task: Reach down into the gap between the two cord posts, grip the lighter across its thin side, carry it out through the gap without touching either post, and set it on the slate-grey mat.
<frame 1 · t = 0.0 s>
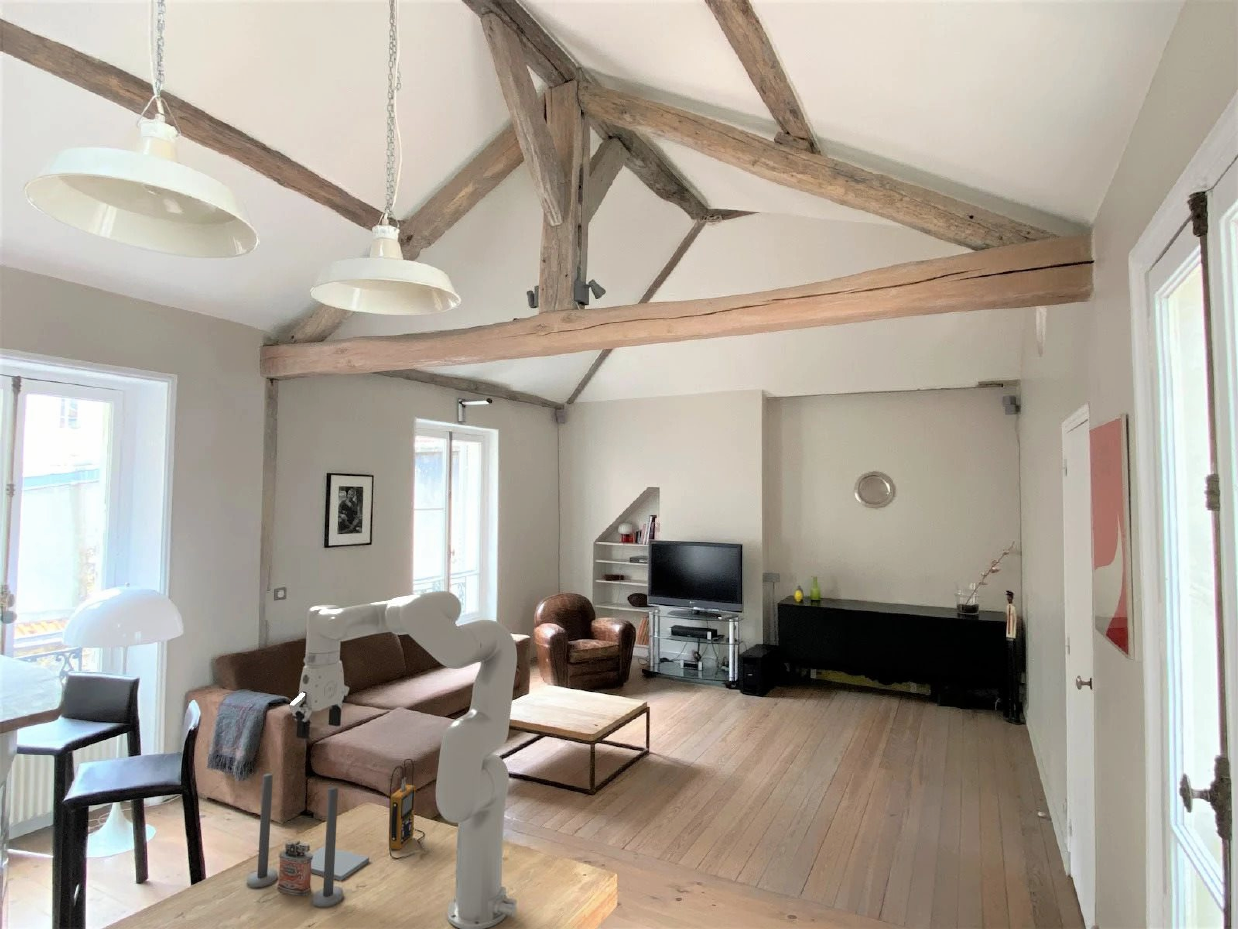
hand: (318, 731, 156), 31 cm above the table, tool pointing down, fingers open, 9 cm apart
multimeter: (414, 846, 165), on the table
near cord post: (327, 899, 142), on the table
mat: (331, 865, 155), on the table
lighter: (294, 890, 145), on the table
far cord post: (262, 880, 148), on the table
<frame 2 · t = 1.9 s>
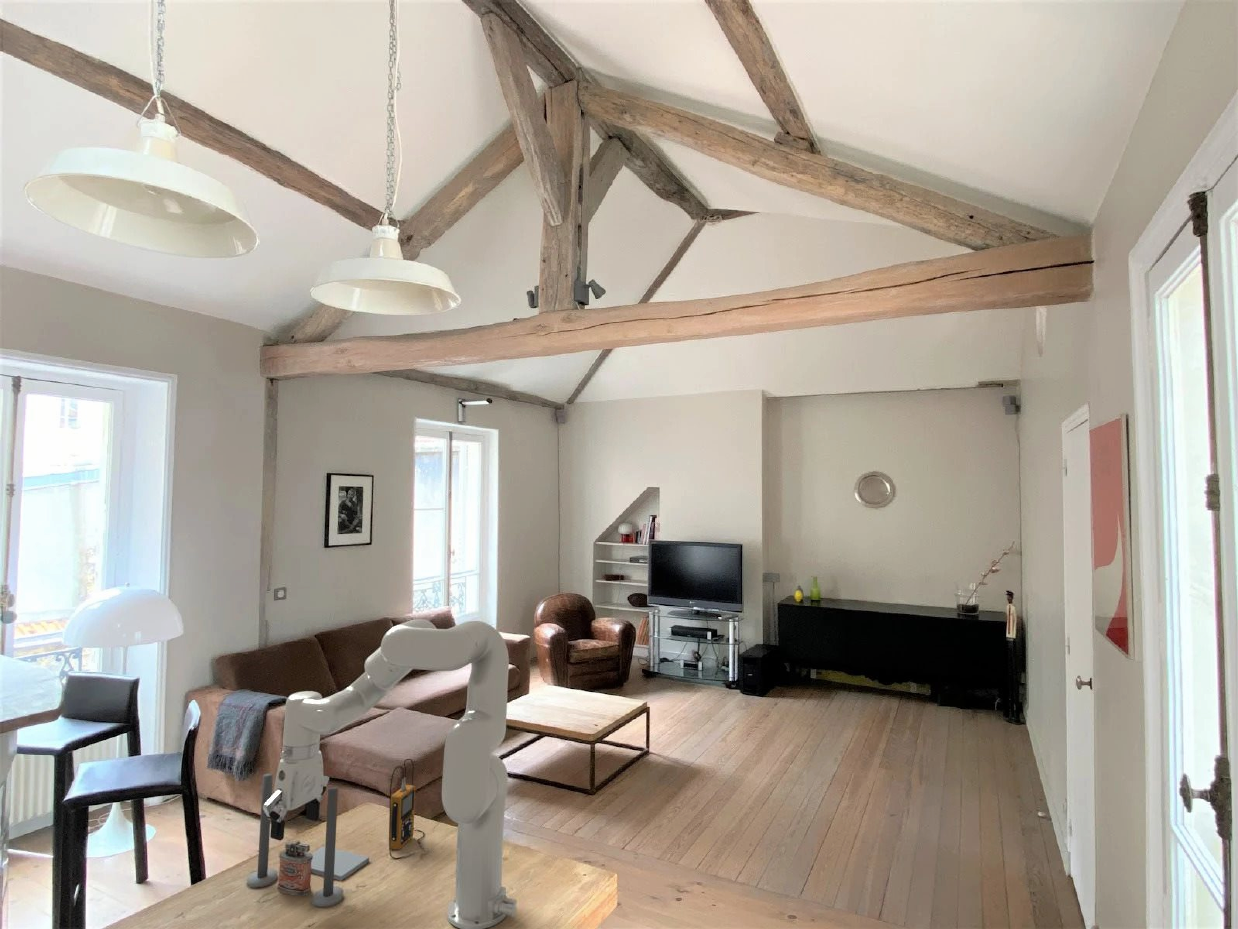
hand: (295, 829, 146), 13 cm above the table, tool pointing down, fingers open, 9 cm apart
nothing on the table moved.
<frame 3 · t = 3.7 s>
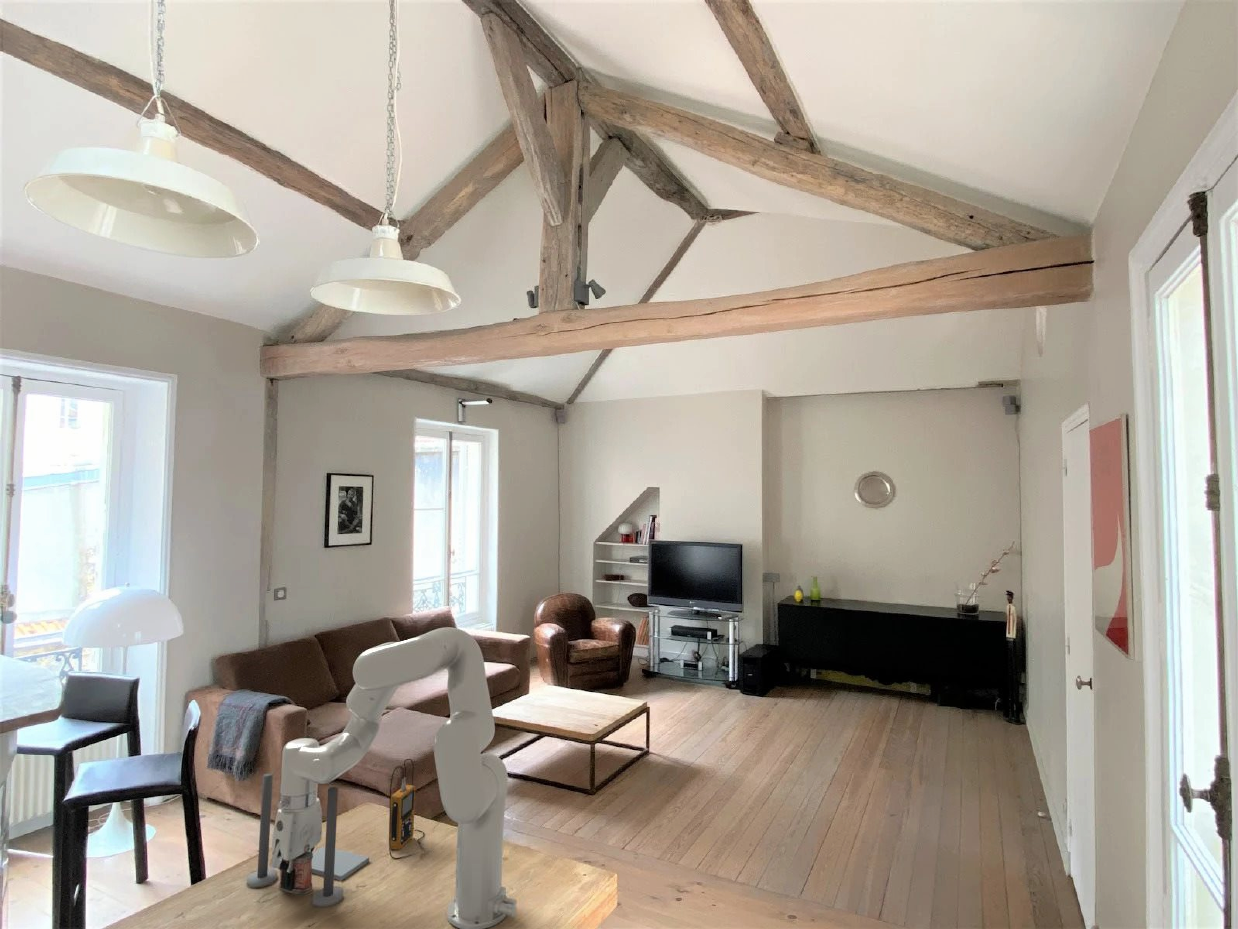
hand: (294, 883, 145), 1 cm above the table, tool pointing down, fingers closed on lighter, 3 cm apart
lighter: (295, 889, 145), on the table, touching gripper
everything else where it was.
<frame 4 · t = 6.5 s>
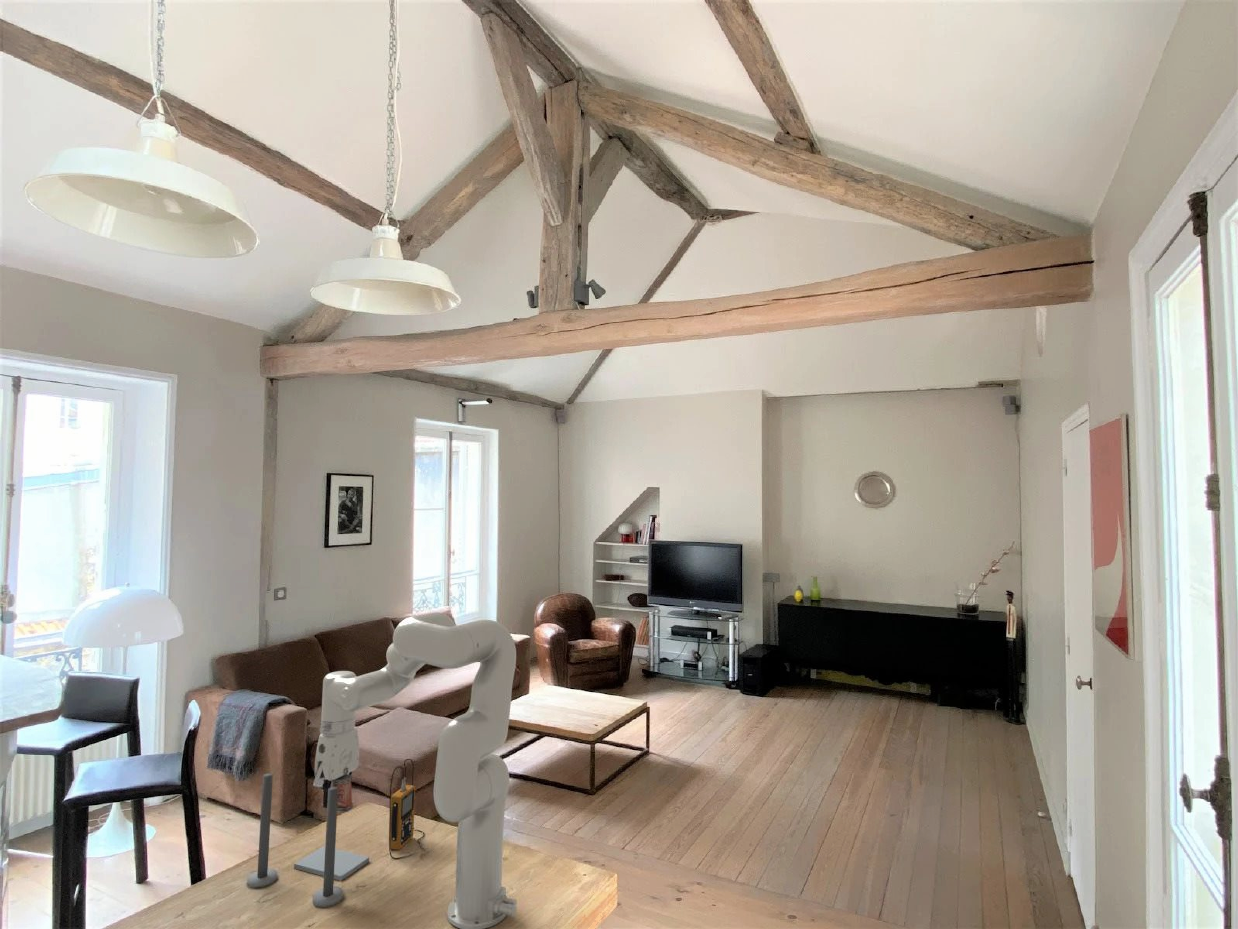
hand: (334, 804, 156), 14 cm above the table, tool pointing down, fingers closed on lighter, 2 cm apart
lighter: (337, 808, 157), point 13 cm above the table, touching gripper
everything else where it was.
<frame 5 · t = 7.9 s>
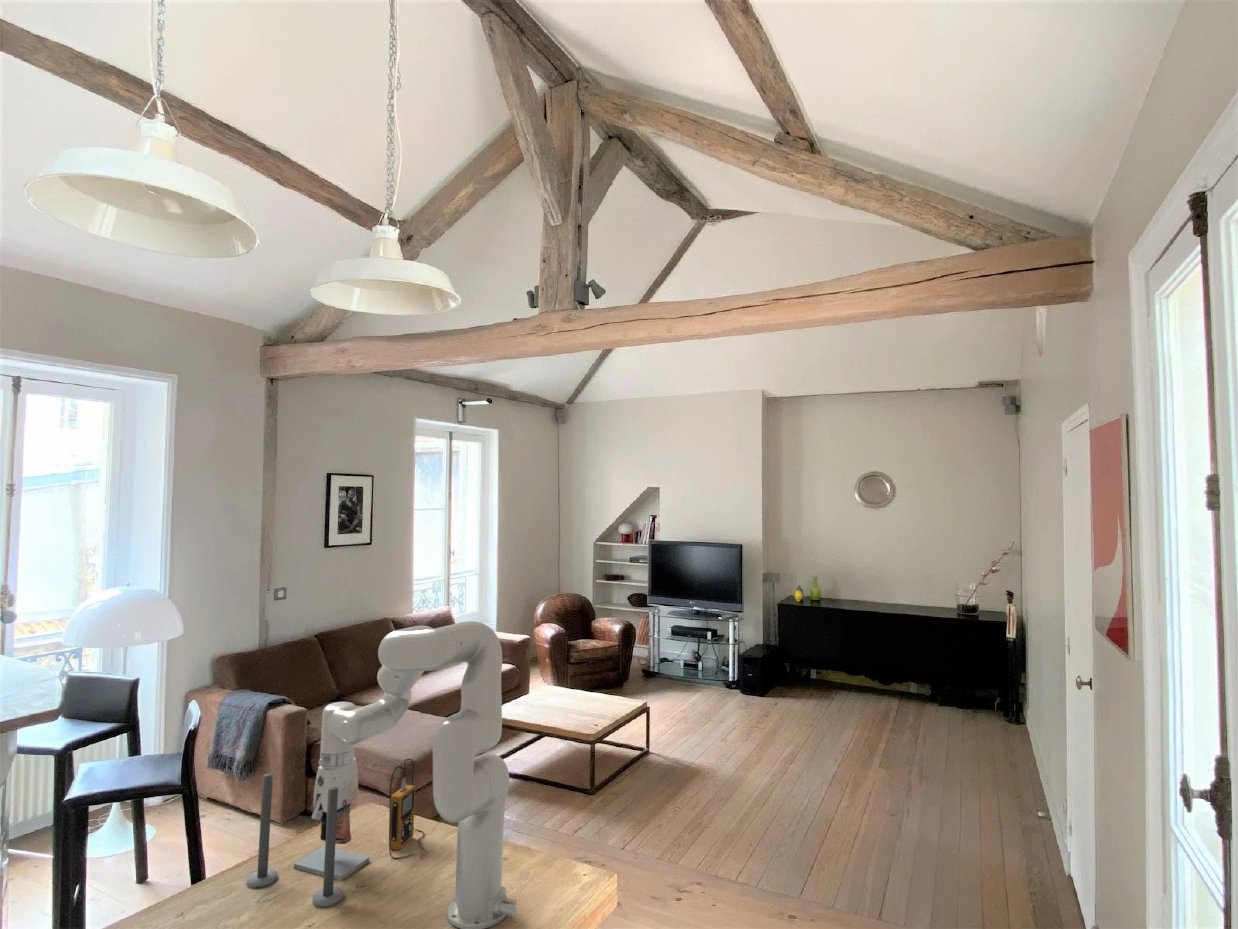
hand: (333, 836, 156), 7 cm above the table, tool pointing down, fingers closed on lighter, 2 cm apart
lighter: (335, 839, 157), point 5 cm above the table, touching gripper
everything else where it was.
when the fingers open (3 cm above the table, at t = 8.7 s): lighter moves 2 cm, resting on mat.
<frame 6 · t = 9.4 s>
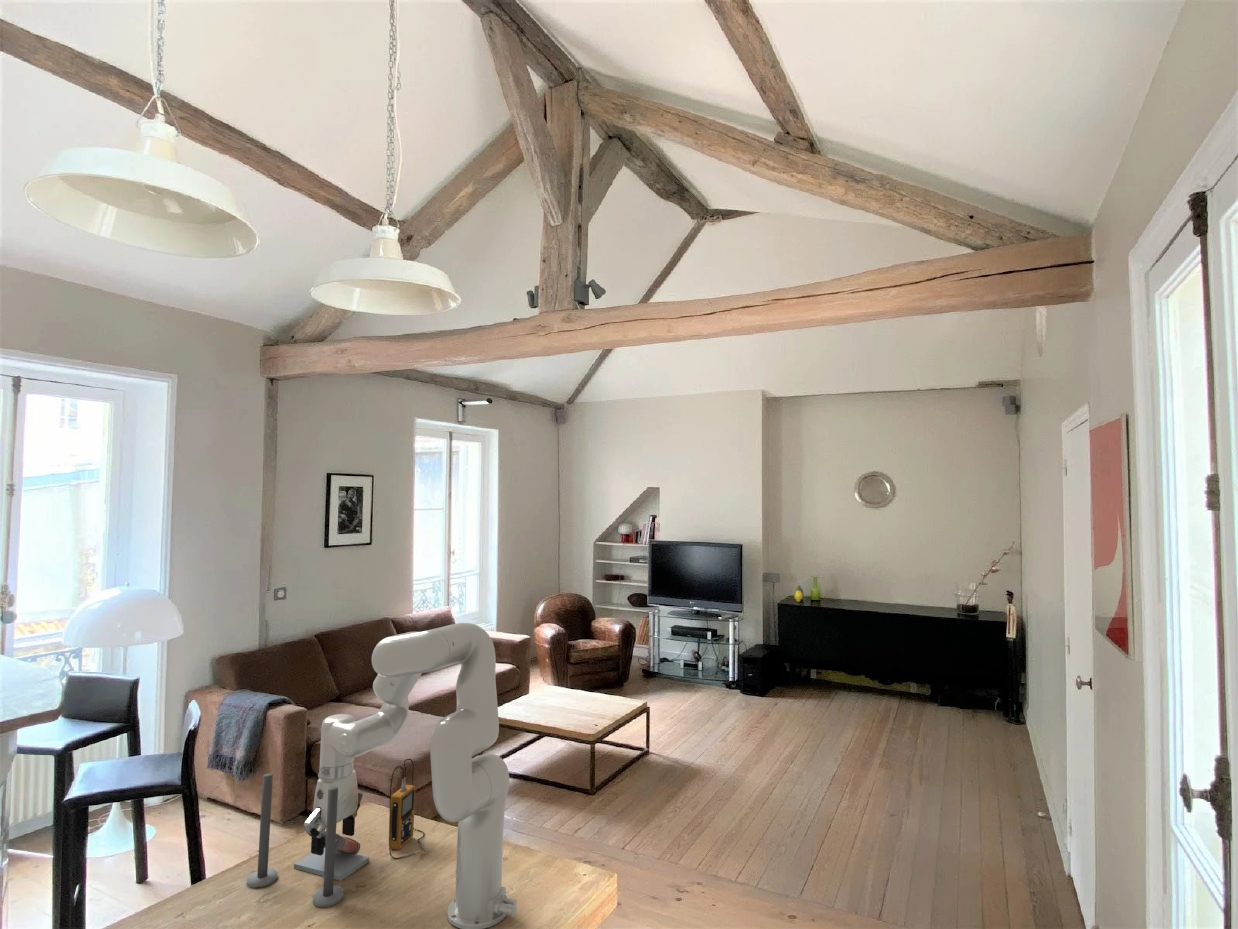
hand: (333, 844, 155), 5 cm above the table, tool pointing down, fingers open, 9 cm apart
lighter: (346, 846, 159), point 2 cm above the table, touching gripper, mat
everything else where it was.
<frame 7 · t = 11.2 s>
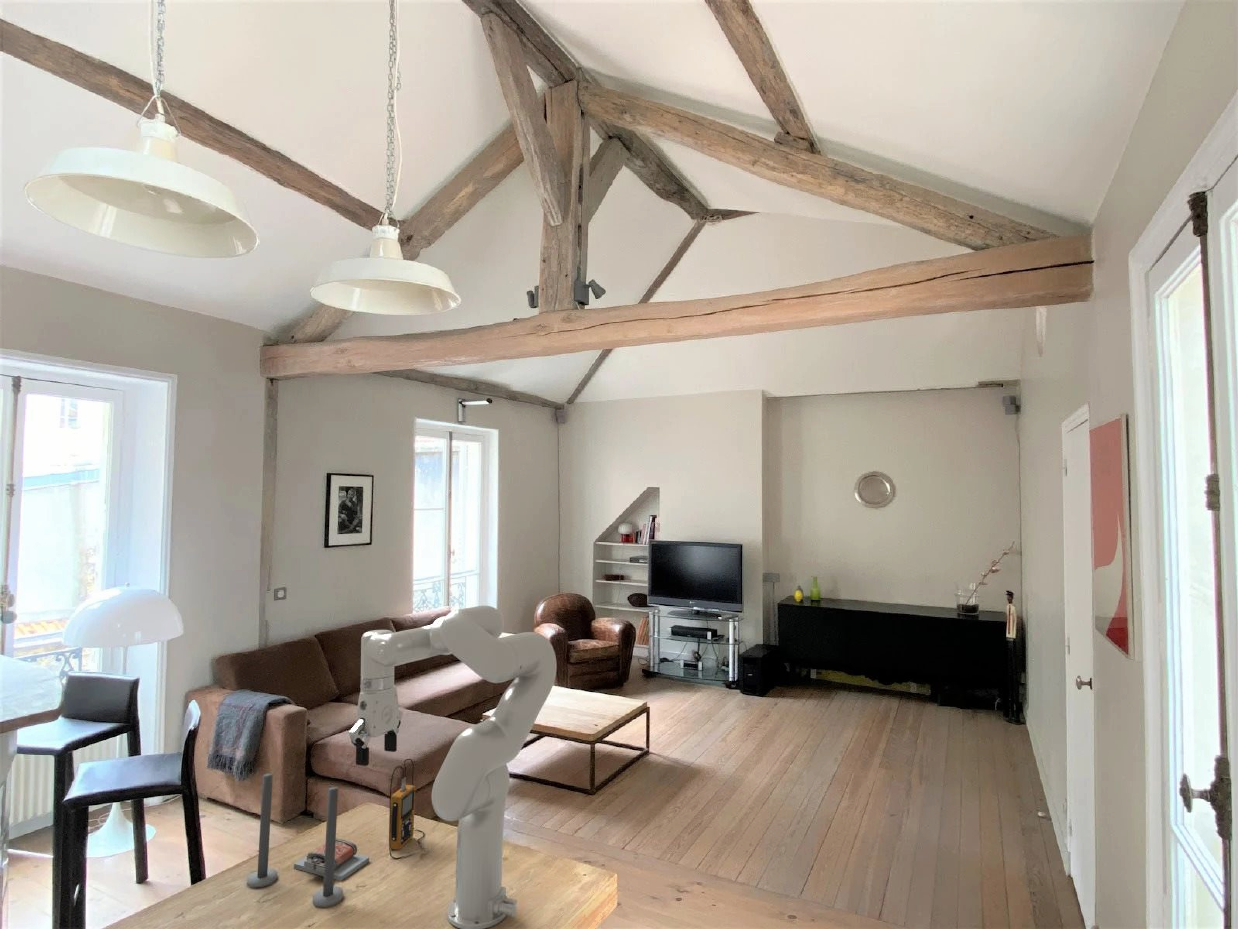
hand: (376, 758, 155), 25 cm above the table, tool pointing down, fingers open, 9 cm apart
lighter: (344, 846, 159), point 3 cm above the table, touching mat
everything else where it was.
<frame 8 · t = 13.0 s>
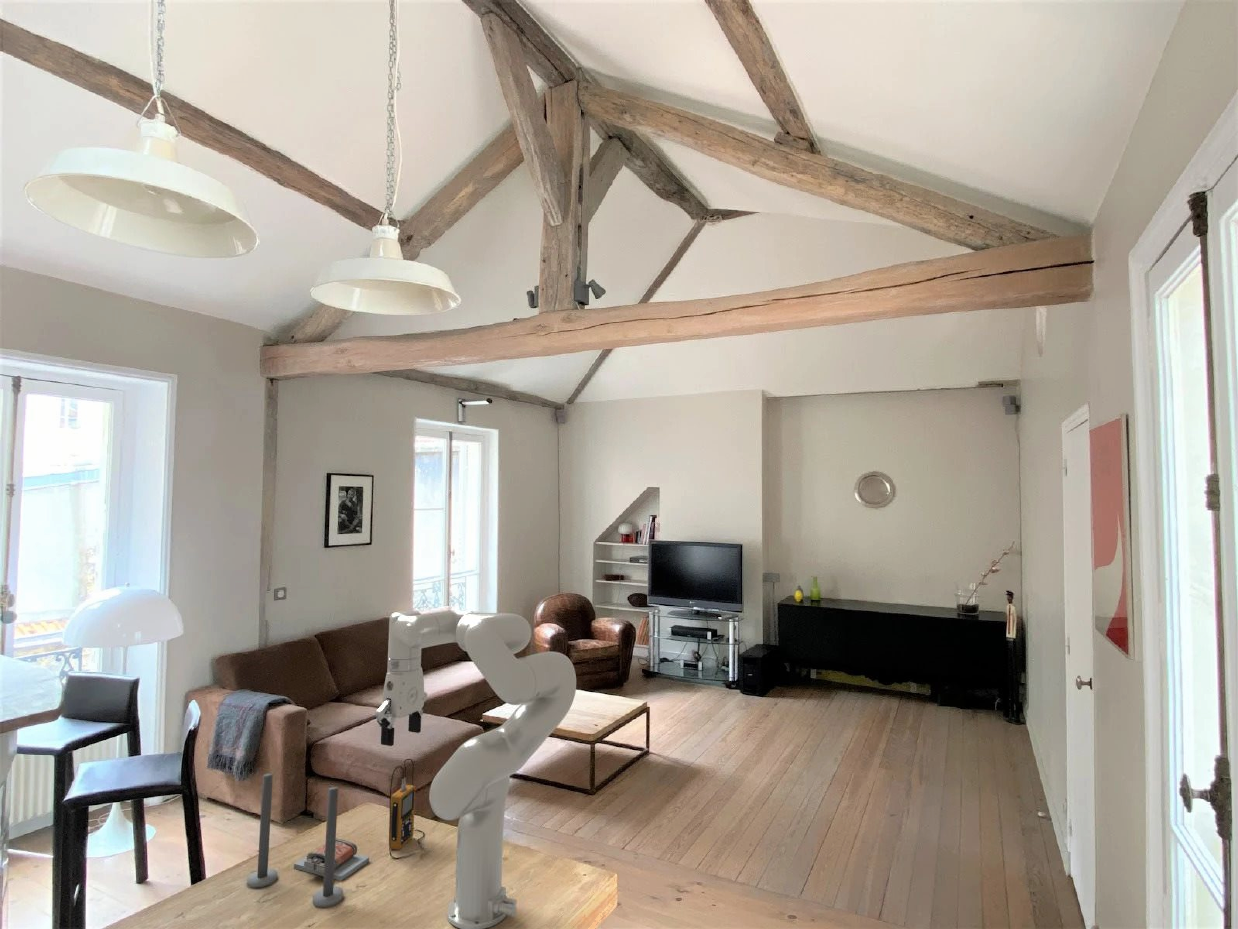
hand: (401, 738, 155), 30 cm above the table, tool pointing down, fingers open, 9 cm apart
nothing on the table moved.
at the end: lighter inside the target area on the mat (3.5 cm from its centre), point 2.7 cm above the mat's base; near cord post moved 0.0 cm from its start; far cord post moved 0.0 cm from its start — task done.
